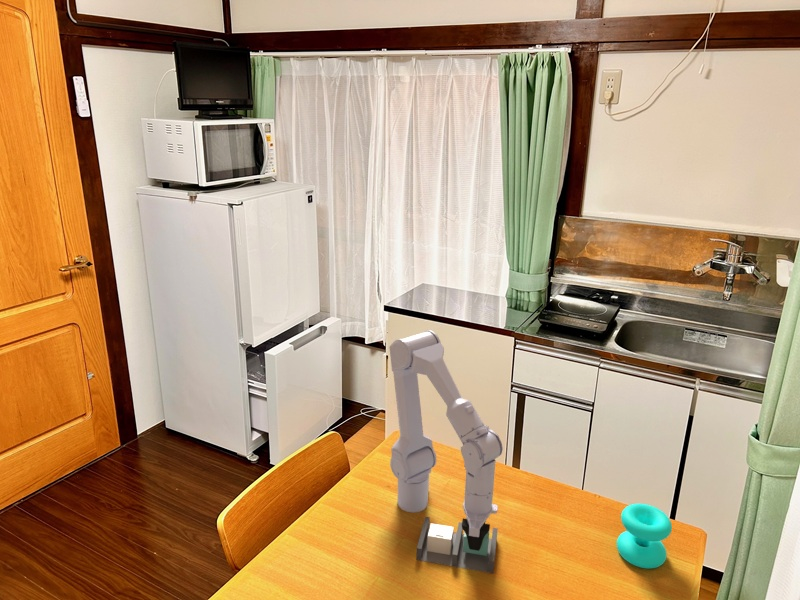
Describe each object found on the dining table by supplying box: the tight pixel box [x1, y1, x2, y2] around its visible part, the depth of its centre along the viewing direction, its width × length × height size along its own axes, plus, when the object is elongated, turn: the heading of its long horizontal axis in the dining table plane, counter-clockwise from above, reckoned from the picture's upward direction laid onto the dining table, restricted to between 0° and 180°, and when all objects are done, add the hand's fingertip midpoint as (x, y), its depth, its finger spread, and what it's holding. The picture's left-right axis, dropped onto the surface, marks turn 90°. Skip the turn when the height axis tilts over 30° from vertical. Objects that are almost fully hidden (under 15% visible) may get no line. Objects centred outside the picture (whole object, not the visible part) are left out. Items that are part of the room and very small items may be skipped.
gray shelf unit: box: [415, 516, 498, 574], centre depth 128 cm, size 10×16×4 cm, turn 77°
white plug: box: [427, 522, 455, 555], centre depth 129 cm, size 4×5×4 cm
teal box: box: [463, 529, 490, 556], centre depth 127 cm, size 4×5×4 cm
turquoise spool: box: [616, 503, 673, 569], centre depth 128 cm, size 10×10×10 cm
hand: (475, 541), depth 127 cm, fingers closed on teal box, 4 cm apart
